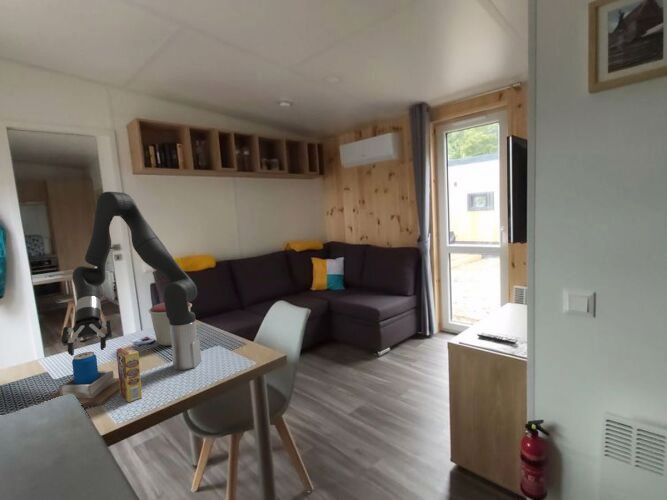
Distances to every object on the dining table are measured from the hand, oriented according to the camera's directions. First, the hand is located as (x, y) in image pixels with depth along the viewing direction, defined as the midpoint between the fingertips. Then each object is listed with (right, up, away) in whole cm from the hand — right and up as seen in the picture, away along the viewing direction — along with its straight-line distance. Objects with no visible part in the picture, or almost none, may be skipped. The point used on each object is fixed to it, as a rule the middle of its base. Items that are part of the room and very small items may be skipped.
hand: (87, 351), depth 116 cm
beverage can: (+3, -12, -4) cm, 13 cm away
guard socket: (+3, -13, -4) cm, 13 cm away
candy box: (+19, -13, -6) cm, 24 cm away
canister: (+10, -8, +42) cm, 44 cm away
